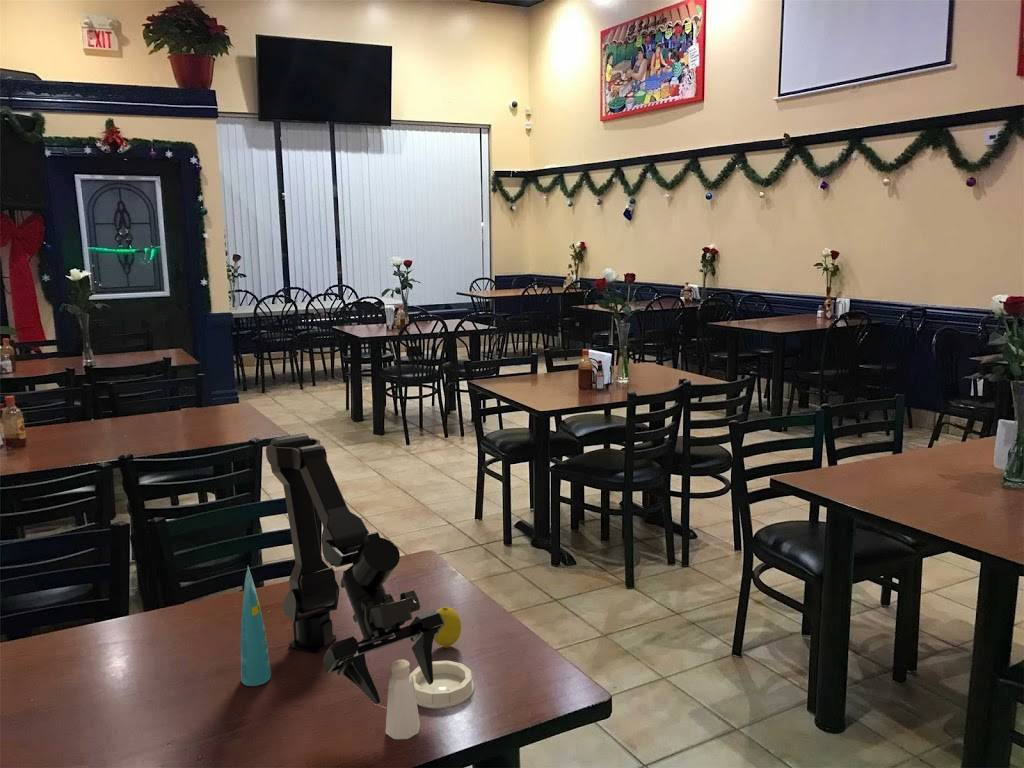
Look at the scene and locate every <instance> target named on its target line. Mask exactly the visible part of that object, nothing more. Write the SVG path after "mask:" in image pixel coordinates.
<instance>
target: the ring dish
mask: <svg viewBox="0 0 1024 768" xmlns="http://www.w3.org/2000/svg"><path fill="white" fill-rule="evenodd" d="M432 667H433V683H432V684H431V685H429V684H428V682H427V681H426V679H425V677H424V675H423V673H422V671H421V668H420V666H419V665H418V666H417V667H416V668H415V669H413V671H411V672H410V673H409V675H411V676H413V681H414V687H415V694H416V701H417V706H419V707H422V708H425V709H433V710H434V709H436V710H438V709H440V710H442V709H447V708H453V707H456V706H459V705H461V704H463V703H465V702H466V701H468V700H469V699H470V698H471V697H472V695H473V693H474V692H475V691H474V690H475V683H474V681H473V678H472V671H471V669H470V668H468V667H467V666H466V665H465V664H463V663H460V662H456V661H451V660H437V661H433V660H432Z"/></svg>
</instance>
